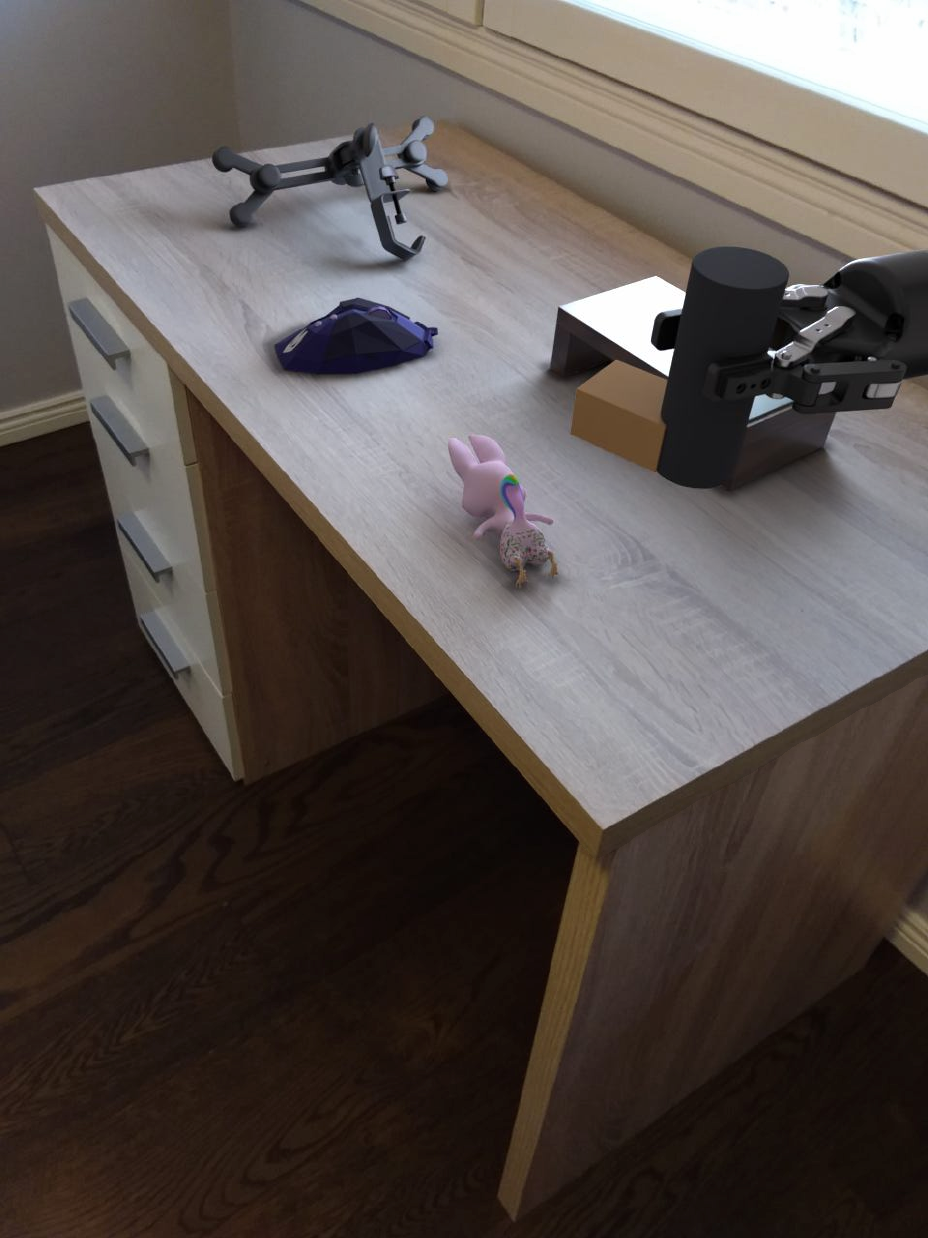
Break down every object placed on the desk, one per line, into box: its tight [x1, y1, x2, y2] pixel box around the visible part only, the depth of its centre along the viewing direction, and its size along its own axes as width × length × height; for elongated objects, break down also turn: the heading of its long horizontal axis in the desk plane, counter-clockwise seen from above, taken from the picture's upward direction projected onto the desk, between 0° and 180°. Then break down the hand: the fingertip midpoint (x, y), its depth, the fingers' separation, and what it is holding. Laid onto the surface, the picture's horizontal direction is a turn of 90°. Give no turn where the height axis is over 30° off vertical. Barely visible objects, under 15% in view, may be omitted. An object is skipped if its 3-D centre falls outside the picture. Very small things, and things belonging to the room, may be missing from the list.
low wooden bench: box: [549, 275, 837, 492], centre depth 87 cm, size 22×12×6 cm, turn 37°
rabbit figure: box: [447, 434, 560, 588], centre depth 74 cm, size 6×6×15 cm
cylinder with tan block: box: [569, 246, 790, 490], centre depth 61 cm, size 10×5×13 cm, turn 52°
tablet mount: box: [211, 115, 449, 261], centre depth 109 cm, size 27×14×17 cm
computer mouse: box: [274, 297, 439, 375], centre depth 92 cm, size 9×15×4 cm, turn 108°
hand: (682, 357), depth 58 cm, fingers closed on cylinder with tan block, 5 cm apart
